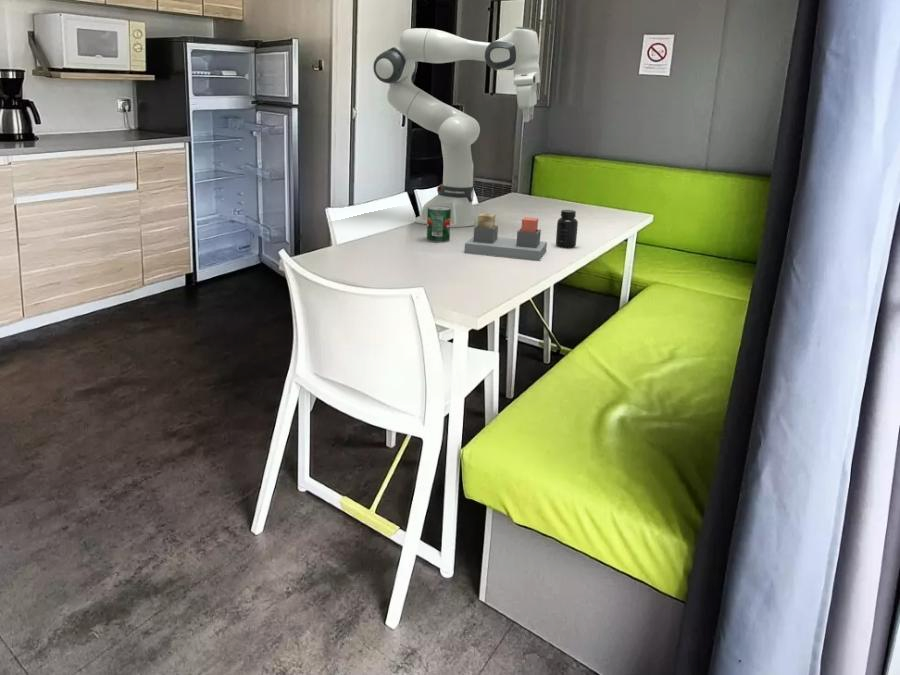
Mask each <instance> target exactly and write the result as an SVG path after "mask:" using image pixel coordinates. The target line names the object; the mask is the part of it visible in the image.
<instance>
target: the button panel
mask: <svg viewBox="0 0 900 675" xmlns="http://www.w3.org/2000/svg"><path fill="white" fill-rule="evenodd" d="M498 232H499V225H495V224H494V227H493V228H492V229H490V228H480V227H478V224H476V225H475V226H473V236H472V237H471V238H470V239H468V240H467V241H466V242H465V243H464V254H474V255H482V256H493V257H501V258H511V259H520V260H531V261H541V259H542V257H543V256H544V254H546V252H547V249H548V248H547V247H548V242H547V241H542V240H541V235H542V234H541V233H542V230H541V229H538V228H537V232H536V233H531V232H521V227H520V228H519V229H518V230H517V233H516V238H511V237H501V236H498Z"/></svg>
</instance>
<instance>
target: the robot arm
mask: <svg viewBox="0 0 900 675" xmlns="http://www.w3.org/2000/svg"><path fill="white" fill-rule="evenodd" d="M398 43H399V44H398V46H397V47H395V46H394V47H391V48H389V49H387V50H385V51H383V52H382V53H380V54H379V55H378V56H376V58H375V60H374V62H373V73H374V75H375V77H376V78H377V79H378V80H379V81H380V82H382V83H383V84H388V85H389V88H388V91H387V95H386V98H387V102H388V103H389V104H390V105H391V106H392V107H393V108H394V109H395V110H396V111H397V112H399V113H400V114H401V115H403V116H405V117H406V118H407V119H409V120H411V121H412V122H413V123H416V124H417V125H418V126H420V127H422V128H424V129H425V130H427V131H431V132H433V133H435V134H437V135H438V138H439V141H440V145H441V153H442V158H443V159H442V161H443V162H442V164H443V175H442V183H441V184H439V186H437V188H436V192H437V194H436V195H435V196H434V197H433V198H431V199H430V200H429V201H427V202H426V203H425V204H423V206H422V210H421V215H419V216H417V217H416V218H415V223H417V224H422V225H427V214H428V213H427V212H428V207H429V206H447V207H450V208H451V217H450V218H451V219H450V229H451V228H459V227H461V228H462V227H470V226H474V225H475V224H476V222H475V217H474V210H473V202H474V194H475V192H474V191H475V190H474V185H473V184H474V181H473V180H474V161H473V156H472V148H471V147H472V146H471V145H473V144H474V143H475V142H476V141H477V140H478V138H479V135H480V132H481V127H480V123H479V122H478V121H477V120H476V118H474V117H472V116H470V115H468V114H467V113H466V112H463V111H461V110H459V109H457V108H455V107H453V106H452V105H449V104H447V103H445V102H443V101H442V100H439V99H437V98H436V97H434V96H433V95H431V94H429V93H428V92H426V91H424V90H423V89H421V88H419V87H418V86H416V85H415V84H414V82H415V80H416V74H417V69H418V66H419V65H418V62H421V63H429V64H445V63H446V64H447V63H453V62H457V61H458V62H459V61H467V60H470V61H481V62H485V63H486V64H487V66H488V67H489V68H490V69H492V70H495V71H512V70H513V86H515V90H516V91H515V92H516V101H517V106H518V108H519V110H522V111H521V112H522V117H523V122H524V123H528V122H529V121H531V120H533V119H534V110H535V109H534V108H535V105H537V104H538V102H537V100H538V99H537V87H538V86H537V84H539V83H541V76H540V74H541V73H540V72H541V71H540V64H539V56H540V47H539V37H538V33H537V31H536V30H535V29H534V28H531V27H524V26H516V27H514V28H513V29H512V30H511V31H510V32H509V33H507V34H506V35H504V36H503V37H501V38H498V39H497V40H494V41H492V42H487V41H477V40H470V39H467V38H463V37H461V36H458V35H456V34H453V33H450V32H447V31H444V30H439V29H435V28H428V27H427V28H426V27H425V28H423V27H421V28H420V27H419V28H418V27H416V28H408V29H405V30H404V31H403V32H402V33H401V35H400V37H399V42H398ZM529 123H530V122H529Z"/></svg>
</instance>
